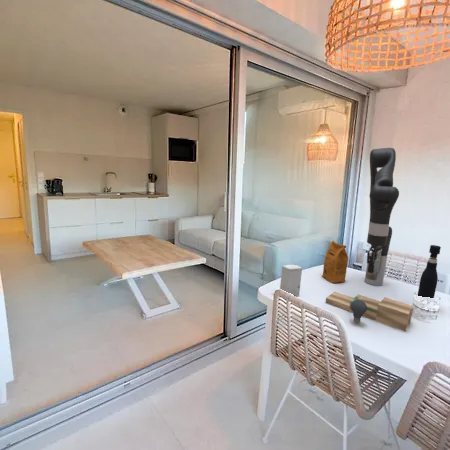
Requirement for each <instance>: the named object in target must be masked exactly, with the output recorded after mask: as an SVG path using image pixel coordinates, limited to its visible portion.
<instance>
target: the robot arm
mask: <svg viewBox="0 0 450 450" xmlns="http://www.w3.org/2000/svg"><path fill="white" fill-rule="evenodd" d="M396 152H397V151H396V149H395V148H394V147H384V148H383V147H381V148H380V147H379V148H375V149H374V148H373V149H372V150H371V151H370V153H369V169H370V170H369V173H370V184H369V185H370V188H369V189H370V190H369V195H368V196H369V223H368V231H367V238H366V242H367V244H369V245H370V247H369V250H367V253H366V265H367V264H369V265H368V272H369V273H373V272H374V266H375V261H376V260H377V259H378V254H379V253H381V255H380V261H379V268H378V274H377V280H370V279H367V278H366V274H365V275H364V282H365V283H366V284H368V285H371V286H375V287H376V286H378V287H380V286H383V284H384V280H385V273H386V268H387V267H386V266H387V261H388V254H389V249H390V244H391V239H392V236H393V228H392V226H390V220H391V215H392V211H393V209H394V207H395V205H396V203H397V200H398V199H399V197H400V191H399V189H398V188H397V187H396V186H394V172H395V167H396V157H397V156H396V155H397V154H396ZM378 169H379V170H378ZM375 256H376V257H375ZM374 257H375V258H374ZM371 260H372V261H371ZM365 270H366V271H367V267H366V269H365ZM366 271H365V272H366Z"/></svg>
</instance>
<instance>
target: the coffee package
mask: <svg viewBox="0 0 450 450" xmlns="http://www.w3.org/2000/svg"><path fill="white" fill-rule="evenodd" d="M346 248H347V246H346V245H344V244H340V243H337V242H336V241H335V240H332V241H331V242H330V245H329V247H328V249H327V251H326V254H325V258H324V262H323V271H322V277H323V278H324V279H326V281H328V282H330V283H332V284H336V283H343V282H345V281H346V276H347V269H348V268H347V267H348V262H349V257H348V256H349V255H348V253H347V251H346Z"/></svg>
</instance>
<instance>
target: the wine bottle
mask: <svg viewBox="0 0 450 450" xmlns="http://www.w3.org/2000/svg"><path fill="white" fill-rule="evenodd" d="M441 248H442V247H441V246H439V245H436V244H431V245H430V246H429V250H428V252H429V253H430V255H429V258H428V260H427V262H426V267H425V268H424V270H423V272H422V274H421V275H420V280H419V285H418V291H417V295H418V296H422V297H430V298H434V299H435V294H436V291H437V290H436V289H437V285H438V271H437V267H438V255H441V254H440V252H441Z"/></svg>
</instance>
